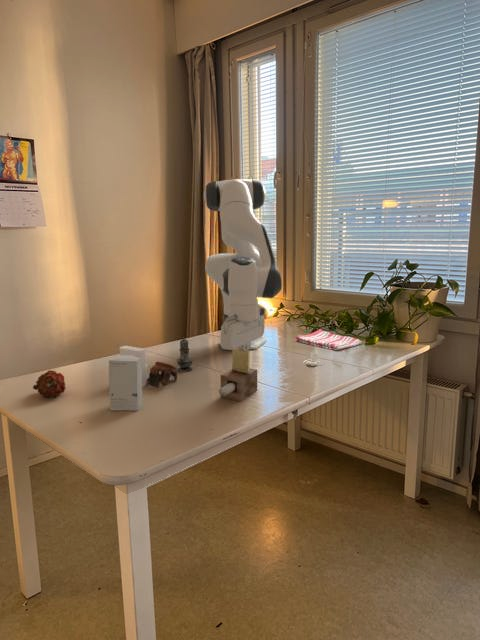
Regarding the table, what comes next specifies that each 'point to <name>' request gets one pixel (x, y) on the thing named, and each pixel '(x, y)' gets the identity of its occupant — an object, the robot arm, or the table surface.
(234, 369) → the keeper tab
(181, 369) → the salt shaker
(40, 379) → the dragon fruit
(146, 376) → the base with upright slab
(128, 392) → the skincare box
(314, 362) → the teacup and saucer
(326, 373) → the table surface
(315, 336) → the dish towel
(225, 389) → the pin
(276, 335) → the table surface
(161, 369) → the brown grey sculpted ring
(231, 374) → the hitch block
